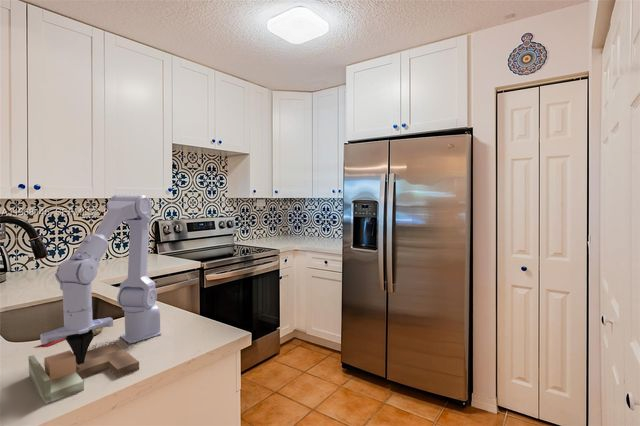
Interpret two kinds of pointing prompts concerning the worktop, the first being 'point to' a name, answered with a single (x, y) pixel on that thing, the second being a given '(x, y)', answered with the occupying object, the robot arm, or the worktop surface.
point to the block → (60, 365)
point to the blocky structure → (81, 371)
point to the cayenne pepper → (51, 343)
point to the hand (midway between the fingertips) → (80, 362)
